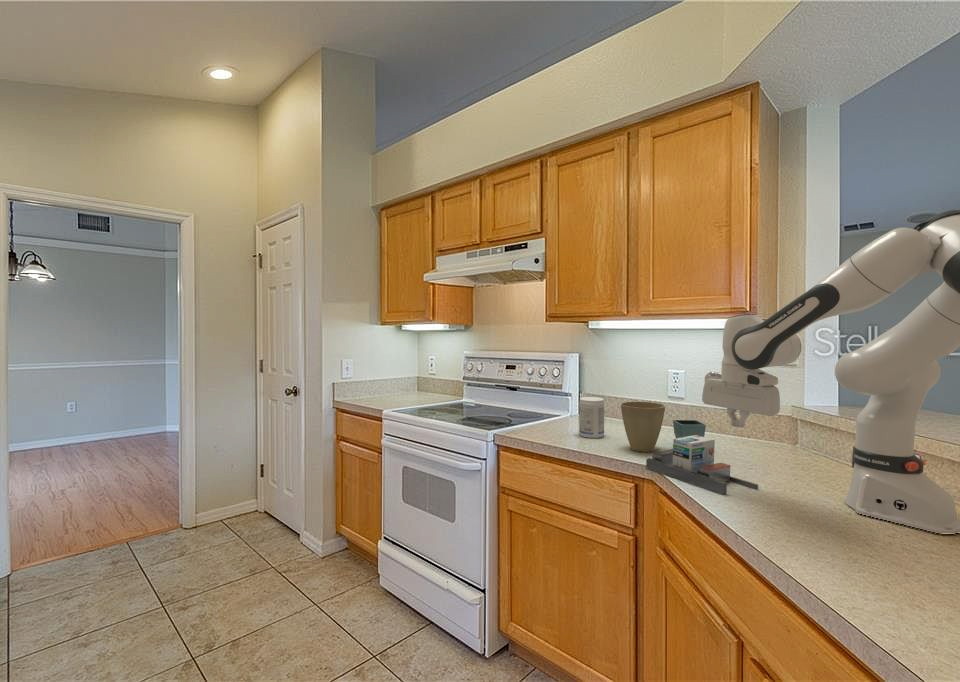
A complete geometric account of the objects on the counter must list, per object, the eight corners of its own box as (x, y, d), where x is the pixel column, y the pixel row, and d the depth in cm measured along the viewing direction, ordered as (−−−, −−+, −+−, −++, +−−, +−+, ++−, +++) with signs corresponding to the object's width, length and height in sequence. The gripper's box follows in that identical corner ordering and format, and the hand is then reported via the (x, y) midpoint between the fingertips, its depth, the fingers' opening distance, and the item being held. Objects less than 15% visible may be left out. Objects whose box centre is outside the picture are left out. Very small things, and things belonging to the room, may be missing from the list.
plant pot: (662, 445, 181) (663, 402, 180) (666, 456, 166) (667, 409, 166) (619, 442, 185) (620, 400, 184) (619, 453, 170) (620, 406, 170)
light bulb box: (690, 480, 141) (691, 443, 141) (671, 474, 147) (672, 438, 147) (714, 475, 147) (715, 439, 146) (694, 469, 153) (695, 434, 152)
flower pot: (671, 443, 184) (672, 419, 184) (695, 444, 184) (696, 419, 184) (680, 449, 175) (681, 424, 175) (705, 450, 175) (706, 424, 175)
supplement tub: (597, 432, 201) (598, 396, 201) (608, 438, 192) (609, 400, 191) (574, 433, 199) (575, 397, 198) (585, 439, 190) (585, 400, 189)
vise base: (758, 489, 135) (758, 471, 135) (728, 496, 129) (728, 478, 129) (674, 462, 159) (675, 448, 159) (646, 468, 153) (646, 453, 153)
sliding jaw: (729, 480, 141) (730, 465, 141) (708, 485, 136) (709, 469, 136) (720, 477, 143) (720, 462, 143) (699, 482, 139) (699, 466, 139)
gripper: (698, 371, 140) (696, 419, 141) (769, 380, 123) (767, 435, 123) (712, 370, 143) (710, 417, 144) (784, 379, 126) (782, 433, 126)
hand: (737, 426), depth 134 cm, fingers closed
